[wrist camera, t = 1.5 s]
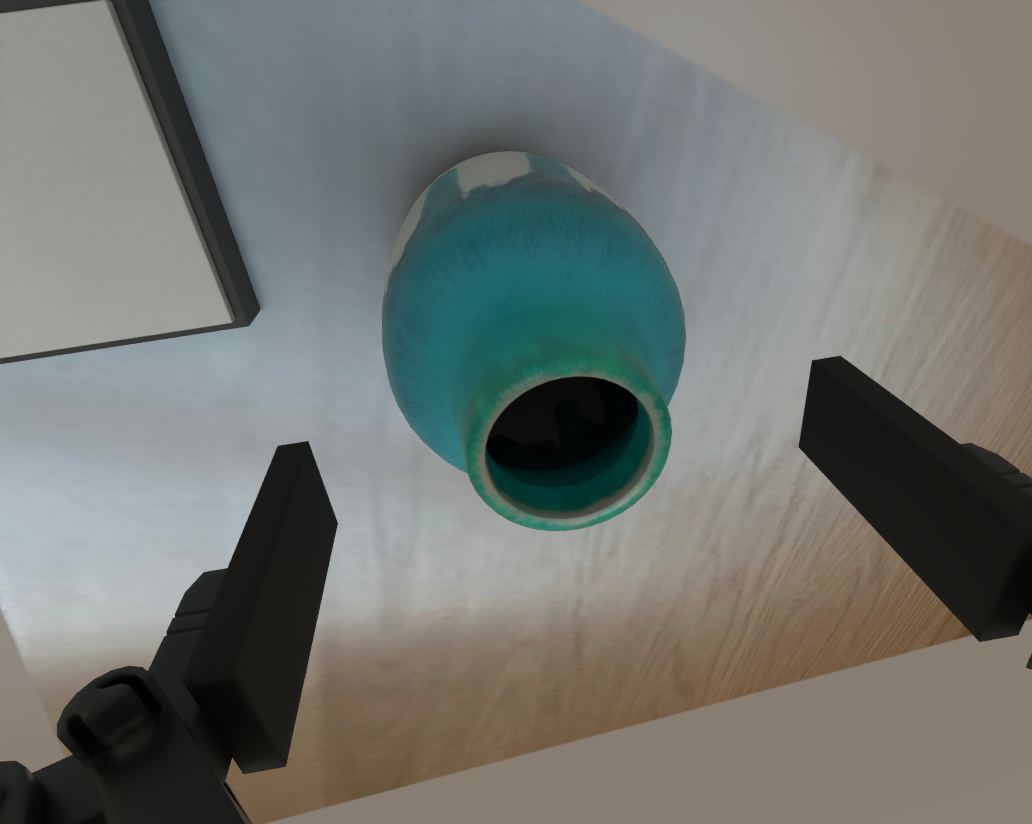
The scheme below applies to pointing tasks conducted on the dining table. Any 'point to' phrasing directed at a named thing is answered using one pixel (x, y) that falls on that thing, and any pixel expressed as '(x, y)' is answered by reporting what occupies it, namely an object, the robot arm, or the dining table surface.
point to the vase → (534, 339)
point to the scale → (104, 188)
